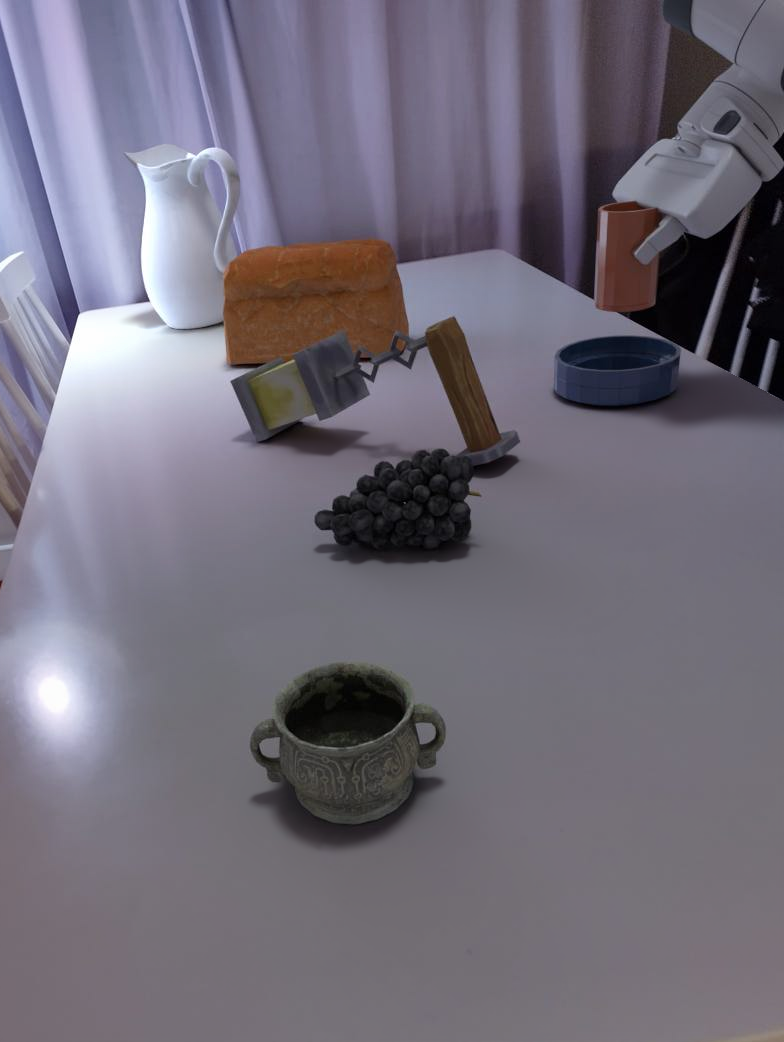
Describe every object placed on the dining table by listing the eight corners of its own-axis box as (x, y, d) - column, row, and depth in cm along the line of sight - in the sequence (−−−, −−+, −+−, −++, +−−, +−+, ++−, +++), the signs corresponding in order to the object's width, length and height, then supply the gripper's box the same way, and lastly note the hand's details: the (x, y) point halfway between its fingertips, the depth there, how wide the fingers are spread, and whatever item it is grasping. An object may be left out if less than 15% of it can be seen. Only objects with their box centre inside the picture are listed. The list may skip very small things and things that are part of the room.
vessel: (439, 729, 62) (435, 650, 59) (458, 822, 55) (454, 738, 52) (260, 747, 63) (246, 670, 60) (255, 841, 56) (238, 759, 52)
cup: (646, 294, 106) (653, 198, 101) (662, 308, 101) (670, 207, 95) (588, 300, 107) (592, 205, 101) (601, 314, 101) (606, 214, 96)
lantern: (287, 513, 115) (493, 462, 94) (230, 380, 110) (433, 295, 89) (324, 488, 120) (528, 435, 98) (271, 361, 115) (473, 275, 93)
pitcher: (133, 328, 169) (97, 155, 154) (207, 304, 177) (180, 139, 163) (214, 344, 153) (182, 153, 138) (291, 317, 162) (269, 135, 147)
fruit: (301, 463, 80) (479, 446, 78) (314, 457, 88) (476, 442, 86) (311, 563, 82) (485, 549, 80) (323, 548, 90) (482, 536, 88)
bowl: (659, 366, 118) (662, 330, 116) (692, 403, 106) (696, 363, 104) (545, 378, 119) (546, 342, 117) (565, 415, 108) (566, 376, 105)
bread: (246, 343, 151) (231, 243, 143) (412, 333, 144) (406, 227, 136) (221, 370, 140) (203, 263, 132) (400, 360, 133) (393, 247, 125)
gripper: (658, 111, 103) (569, 220, 108) (754, 121, 86) (642, 250, 91) (694, 151, 106) (604, 255, 111) (794, 168, 89) (683, 291, 94)
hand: (622, 253), depth 101 cm, fingers closed on cup, 6 cm apart
